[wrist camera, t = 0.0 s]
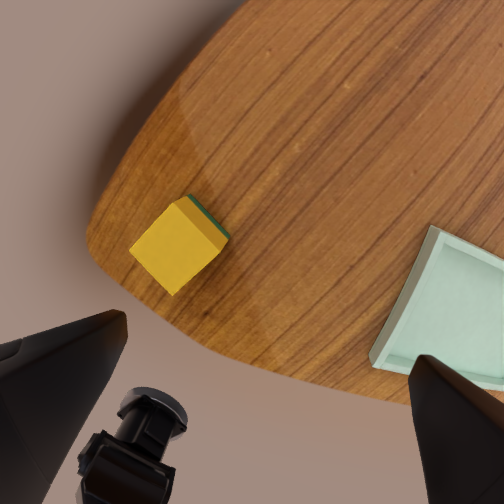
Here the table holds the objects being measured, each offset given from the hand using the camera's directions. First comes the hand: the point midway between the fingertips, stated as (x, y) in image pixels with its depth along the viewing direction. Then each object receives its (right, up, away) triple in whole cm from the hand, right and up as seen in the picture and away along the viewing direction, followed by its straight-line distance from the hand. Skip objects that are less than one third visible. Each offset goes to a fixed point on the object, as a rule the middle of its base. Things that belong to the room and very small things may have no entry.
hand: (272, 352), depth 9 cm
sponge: (-6, +4, +16) cm, 18 cm away
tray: (+21, -4, +16) cm, 27 cm away
